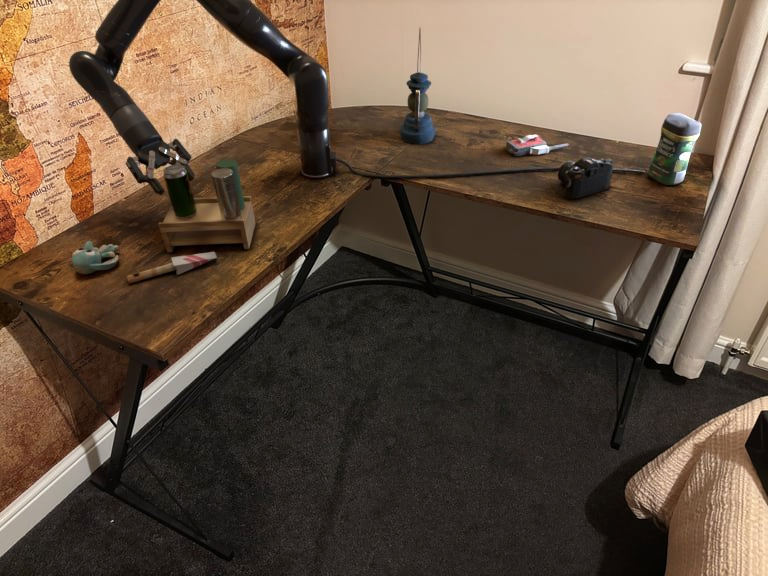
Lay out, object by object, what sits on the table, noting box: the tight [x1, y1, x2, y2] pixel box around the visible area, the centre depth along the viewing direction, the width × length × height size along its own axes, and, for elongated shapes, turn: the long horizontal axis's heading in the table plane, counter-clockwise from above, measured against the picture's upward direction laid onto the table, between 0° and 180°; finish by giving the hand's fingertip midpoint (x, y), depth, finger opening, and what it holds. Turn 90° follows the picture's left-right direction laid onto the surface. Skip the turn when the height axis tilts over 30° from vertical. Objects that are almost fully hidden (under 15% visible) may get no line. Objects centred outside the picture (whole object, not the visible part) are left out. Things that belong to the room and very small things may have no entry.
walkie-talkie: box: [505, 133, 569, 157], centre depth 177 cm, size 9×4×20 cm
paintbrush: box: [126, 251, 218, 284], centre depth 128 cm, size 4×3×20 cm
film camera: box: [557, 156, 615, 200], centre depth 154 cm, size 18×12×10 cm
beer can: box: [162, 165, 197, 219], centre depth 132 cm, size 5×5×12 cm
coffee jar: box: [647, 112, 702, 186], centre depth 156 cm, size 10×8×19 cm
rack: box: [158, 158, 257, 253], centre depth 135 cm, size 20×12×19 cm, turn 93°
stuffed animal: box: [71, 240, 120, 275], centre depth 130 cm, size 11×7×12 cm
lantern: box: [399, 28, 436, 145], centre depth 177 cm, size 14×12×35 cm
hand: (178, 186), depth 132 cm, fingers open, 8 cm apart
